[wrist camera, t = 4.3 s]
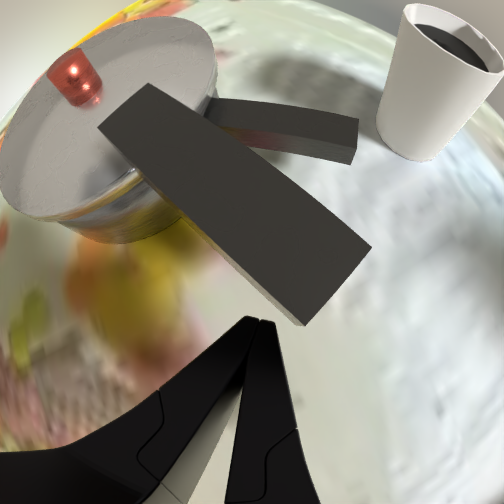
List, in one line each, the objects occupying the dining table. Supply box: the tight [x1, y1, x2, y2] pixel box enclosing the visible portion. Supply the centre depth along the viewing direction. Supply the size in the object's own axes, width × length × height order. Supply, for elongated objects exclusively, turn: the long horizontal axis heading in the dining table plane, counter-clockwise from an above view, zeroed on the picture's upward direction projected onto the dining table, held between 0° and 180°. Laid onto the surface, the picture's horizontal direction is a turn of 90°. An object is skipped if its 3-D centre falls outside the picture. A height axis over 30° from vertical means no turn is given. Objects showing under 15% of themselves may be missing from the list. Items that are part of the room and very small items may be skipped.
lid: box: [0, 16, 372, 326], centre depth 11 cm, size 16×25×4 cm, turn 46°
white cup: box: [376, 3, 504, 162], centre depth 14 cm, size 7×7×10 cm
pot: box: [58, 87, 359, 244], centre depth 17 cm, size 15×27×6 cm, turn 76°
